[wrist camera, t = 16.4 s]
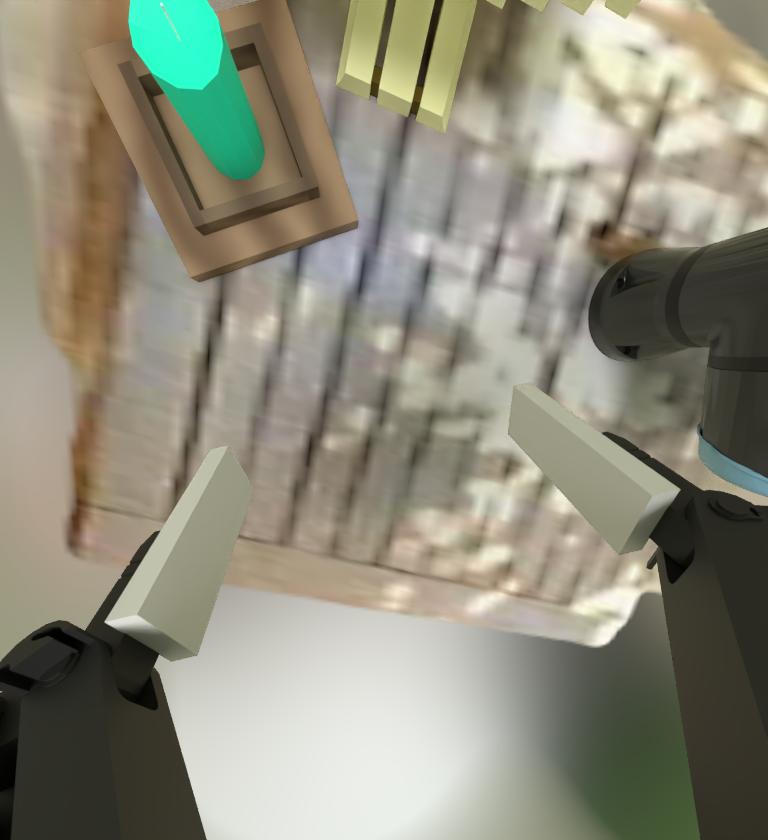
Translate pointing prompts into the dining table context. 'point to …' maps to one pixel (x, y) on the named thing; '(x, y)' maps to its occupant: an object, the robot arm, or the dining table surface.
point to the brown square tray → (197, 176)
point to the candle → (199, 80)
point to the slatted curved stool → (419, 52)
